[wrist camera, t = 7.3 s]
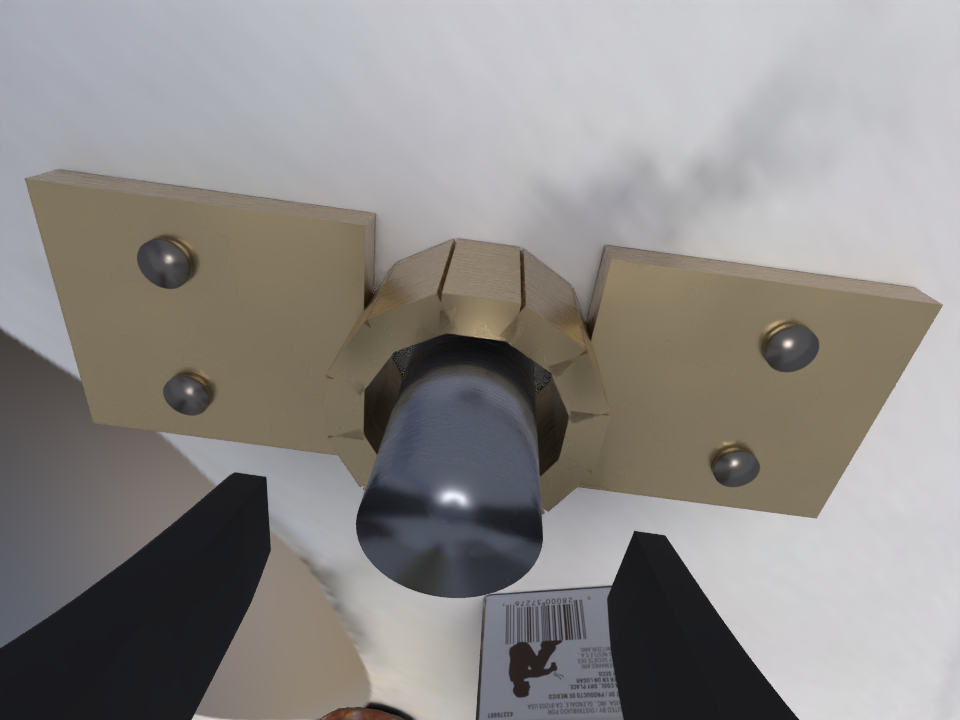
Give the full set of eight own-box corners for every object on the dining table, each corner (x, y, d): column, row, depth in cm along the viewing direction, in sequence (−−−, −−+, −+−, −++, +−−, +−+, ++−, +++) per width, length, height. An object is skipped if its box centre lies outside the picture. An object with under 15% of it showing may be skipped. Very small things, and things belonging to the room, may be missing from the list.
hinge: (115, 402, 20) (29, 480, 16) (57, 169, 16) (-74, 205, 12) (800, 493, 20) (860, 588, 16) (914, 287, 16) (1026, 355, 12)
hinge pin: (415, 382, 18) (355, 585, 12) (423, 282, 17) (357, 451, 10) (522, 396, 19) (525, 607, 12) (541, 298, 17) (559, 478, 10)
